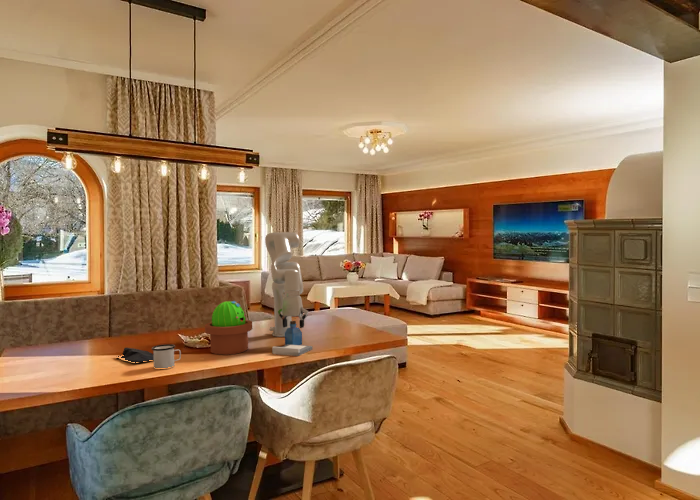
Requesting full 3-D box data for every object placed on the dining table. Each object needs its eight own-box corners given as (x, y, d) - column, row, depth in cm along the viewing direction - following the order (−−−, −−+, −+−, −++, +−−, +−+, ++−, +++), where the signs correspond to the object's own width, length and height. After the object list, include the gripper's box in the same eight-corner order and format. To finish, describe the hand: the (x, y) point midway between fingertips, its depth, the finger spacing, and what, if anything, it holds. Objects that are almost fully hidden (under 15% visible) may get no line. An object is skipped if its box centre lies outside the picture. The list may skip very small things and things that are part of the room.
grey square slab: (272, 353, 224) (272, 347, 224) (287, 347, 237) (287, 340, 237) (298, 356, 218) (298, 349, 218) (312, 349, 231) (312, 342, 231)
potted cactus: (196, 354, 226) (195, 302, 226) (224, 344, 247) (223, 296, 246) (235, 357, 218) (233, 303, 217) (260, 347, 239) (259, 297, 238)
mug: (156, 371, 198) (155, 350, 197) (149, 367, 205) (148, 346, 205) (184, 366, 205) (184, 345, 205) (177, 362, 213) (176, 342, 212)
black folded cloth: (129, 367, 207) (129, 356, 207) (113, 359, 223) (113, 349, 223) (164, 360, 217) (163, 350, 217) (146, 353, 233) (146, 343, 233)
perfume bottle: (285, 345, 242) (284, 321, 242) (294, 342, 247) (293, 319, 246) (292, 346, 238) (292, 322, 238) (302, 344, 242) (301, 321, 242)
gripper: (273, 294, 241) (275, 328, 241) (303, 294, 235) (304, 329, 234) (281, 293, 248) (282, 325, 248) (310, 293, 241) (311, 326, 241)
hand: (293, 327), depth 241 cm, fingers open, 9 cm apart
